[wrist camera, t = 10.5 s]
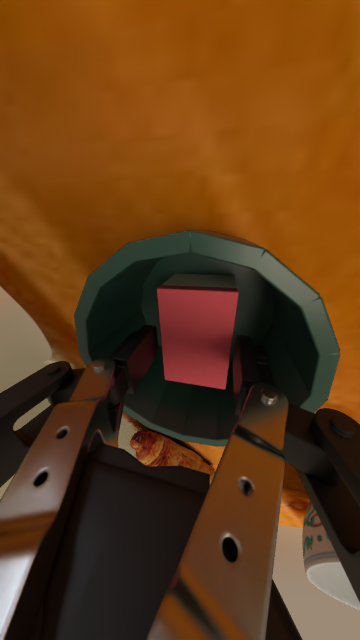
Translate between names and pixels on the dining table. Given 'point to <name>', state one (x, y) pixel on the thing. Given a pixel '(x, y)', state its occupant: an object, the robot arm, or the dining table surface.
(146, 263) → the pot
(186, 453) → the croissant
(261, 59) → the dining table surface
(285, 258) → the dining table surface
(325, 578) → the chinaware
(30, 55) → the dining table surface
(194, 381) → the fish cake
